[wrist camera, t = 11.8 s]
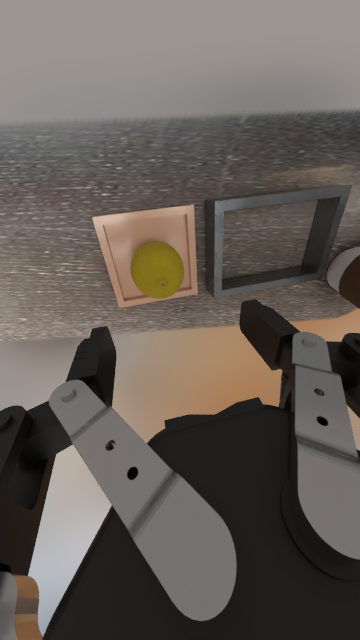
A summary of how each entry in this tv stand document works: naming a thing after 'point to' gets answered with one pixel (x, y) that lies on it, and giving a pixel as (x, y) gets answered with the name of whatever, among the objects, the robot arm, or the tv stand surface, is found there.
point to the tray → (137, 229)
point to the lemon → (157, 269)
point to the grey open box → (311, 269)
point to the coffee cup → (346, 275)
